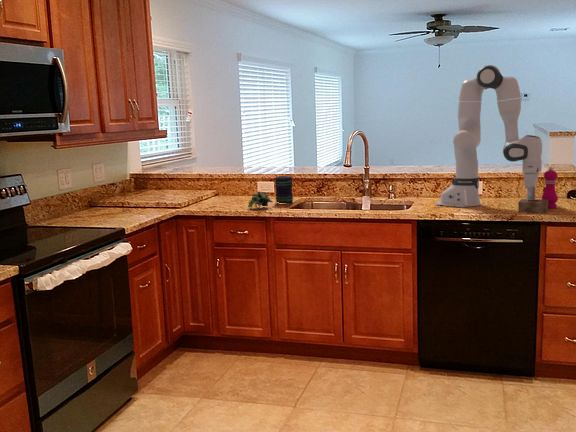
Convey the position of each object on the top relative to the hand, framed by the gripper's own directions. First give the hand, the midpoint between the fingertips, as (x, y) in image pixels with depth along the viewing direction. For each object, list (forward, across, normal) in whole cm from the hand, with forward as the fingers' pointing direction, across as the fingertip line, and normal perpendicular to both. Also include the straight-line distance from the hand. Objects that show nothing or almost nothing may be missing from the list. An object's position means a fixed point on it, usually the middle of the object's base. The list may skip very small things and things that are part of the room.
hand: (531, 195), depth 301 cm
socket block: (+5, +16, +3) cm, 17 cm away
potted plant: (+6, +44, -133) cm, 140 cm away
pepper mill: (+5, +4, +9) cm, 11 cm away
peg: (+5, 0, 0) cm, 5 cm away
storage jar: (+6, +23, -129) cm, 131 cm away
